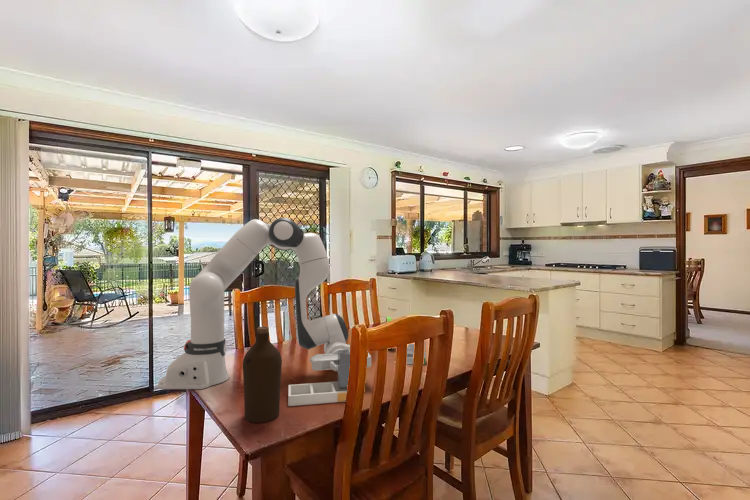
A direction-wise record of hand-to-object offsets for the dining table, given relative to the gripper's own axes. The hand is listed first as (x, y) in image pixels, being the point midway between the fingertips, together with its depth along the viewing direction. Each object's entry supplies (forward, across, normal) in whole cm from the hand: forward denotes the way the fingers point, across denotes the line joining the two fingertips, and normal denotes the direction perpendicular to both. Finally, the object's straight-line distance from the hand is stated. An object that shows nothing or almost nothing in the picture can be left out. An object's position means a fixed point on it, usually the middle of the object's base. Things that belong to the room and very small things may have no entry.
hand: (344, 368), depth 121 cm
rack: (-1, -7, +9) cm, 11 cm away
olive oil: (+9, -25, +9) cm, 28 cm away
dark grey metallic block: (-1, 0, +6) cm, 6 cm away
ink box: (-30, +34, +10) cm, 46 cm away
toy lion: (-55, +29, +10) cm, 63 cm away
